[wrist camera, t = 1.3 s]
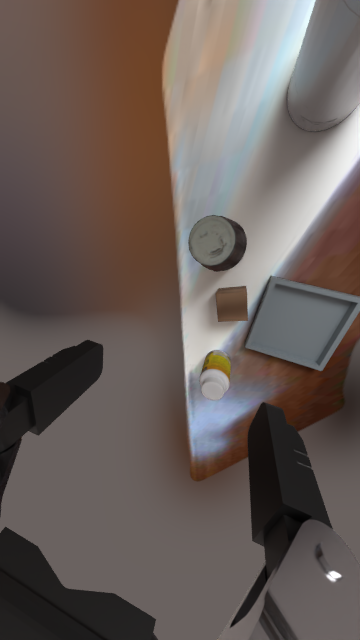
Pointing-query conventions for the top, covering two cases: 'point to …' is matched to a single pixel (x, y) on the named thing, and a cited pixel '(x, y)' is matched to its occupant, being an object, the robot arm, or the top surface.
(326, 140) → the top surface
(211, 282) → the top surface
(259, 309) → the tray
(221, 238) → the sauce bottle
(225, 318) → the walnut block
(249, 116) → the top surface
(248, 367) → the top surface
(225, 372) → the supplement bottle
